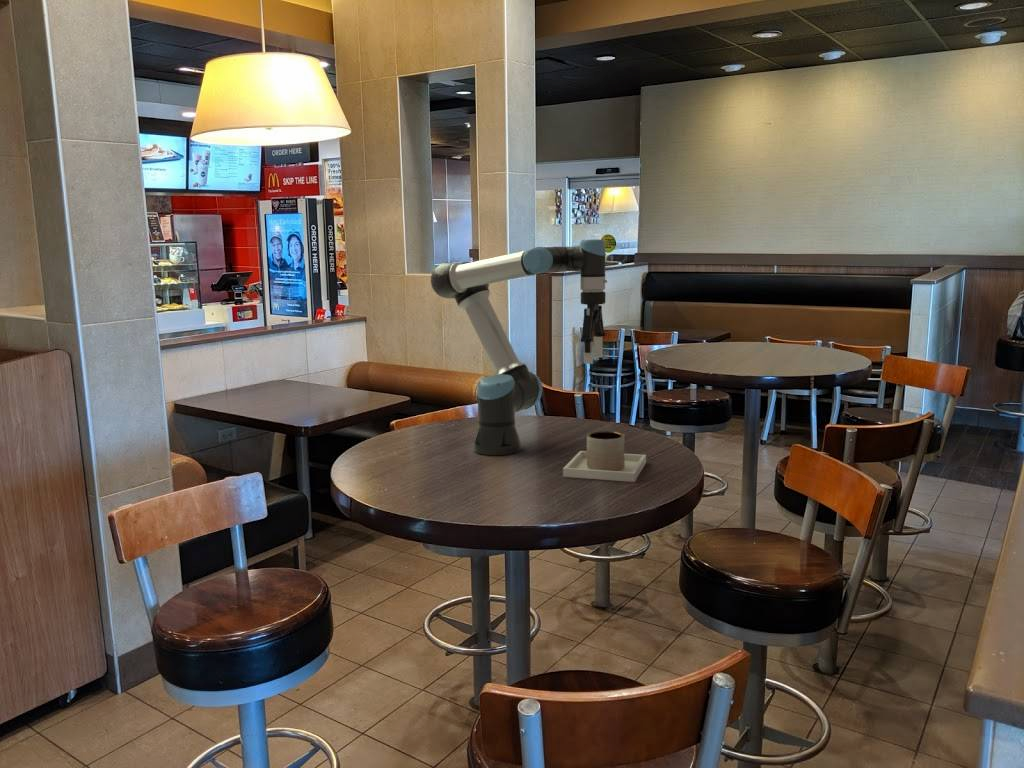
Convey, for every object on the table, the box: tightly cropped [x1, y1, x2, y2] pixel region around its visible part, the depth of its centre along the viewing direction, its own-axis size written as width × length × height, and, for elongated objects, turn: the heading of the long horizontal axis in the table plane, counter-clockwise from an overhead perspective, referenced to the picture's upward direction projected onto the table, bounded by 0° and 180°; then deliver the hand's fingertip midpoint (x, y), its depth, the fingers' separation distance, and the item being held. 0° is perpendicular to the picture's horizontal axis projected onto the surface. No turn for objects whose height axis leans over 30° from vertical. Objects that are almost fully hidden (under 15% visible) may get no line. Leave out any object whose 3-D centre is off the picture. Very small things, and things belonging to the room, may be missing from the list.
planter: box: [586, 430, 626, 471], centre depth 224 cm, size 11×11×10 cm
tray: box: [562, 450, 647, 483], centre depth 225 cm, size 20×20×2 cm
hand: (593, 360), depth 242 cm, fingers open, 13 cm apart
